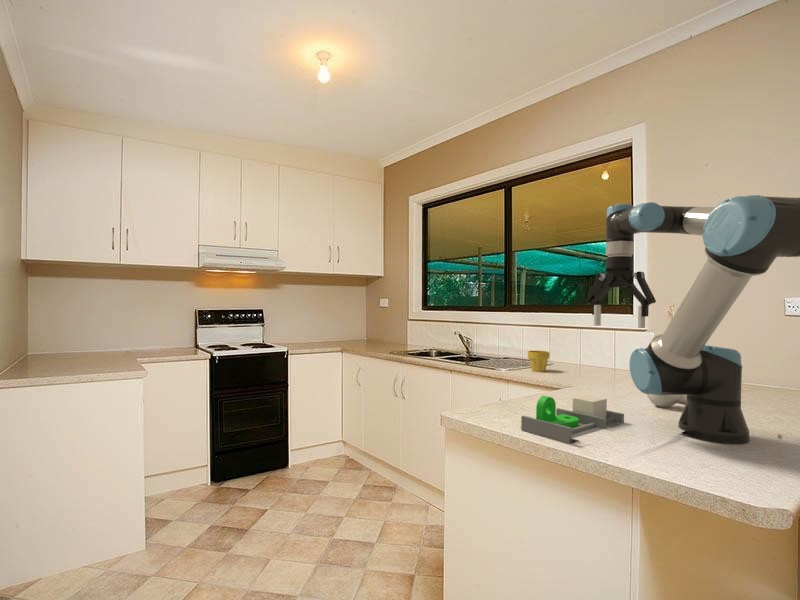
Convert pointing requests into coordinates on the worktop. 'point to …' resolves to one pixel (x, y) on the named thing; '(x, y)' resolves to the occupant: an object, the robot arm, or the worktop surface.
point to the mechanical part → (553, 413)
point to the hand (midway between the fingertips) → (618, 326)
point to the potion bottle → (667, 400)
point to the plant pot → (538, 360)
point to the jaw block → (590, 406)
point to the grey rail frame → (567, 433)
